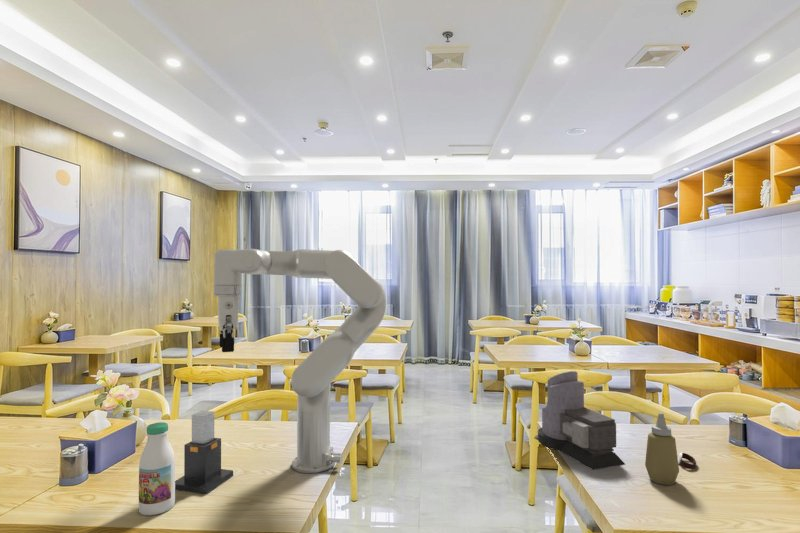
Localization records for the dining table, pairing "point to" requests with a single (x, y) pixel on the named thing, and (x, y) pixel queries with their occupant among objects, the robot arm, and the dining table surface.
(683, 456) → the watch
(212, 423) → the stand column
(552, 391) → the grey blocky piece
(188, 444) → the stand base
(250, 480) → the dining table surface
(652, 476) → the squeeze bottle
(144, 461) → the milk bottle
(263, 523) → the dining table surface
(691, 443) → the dining table surface
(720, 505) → the dining table surface
